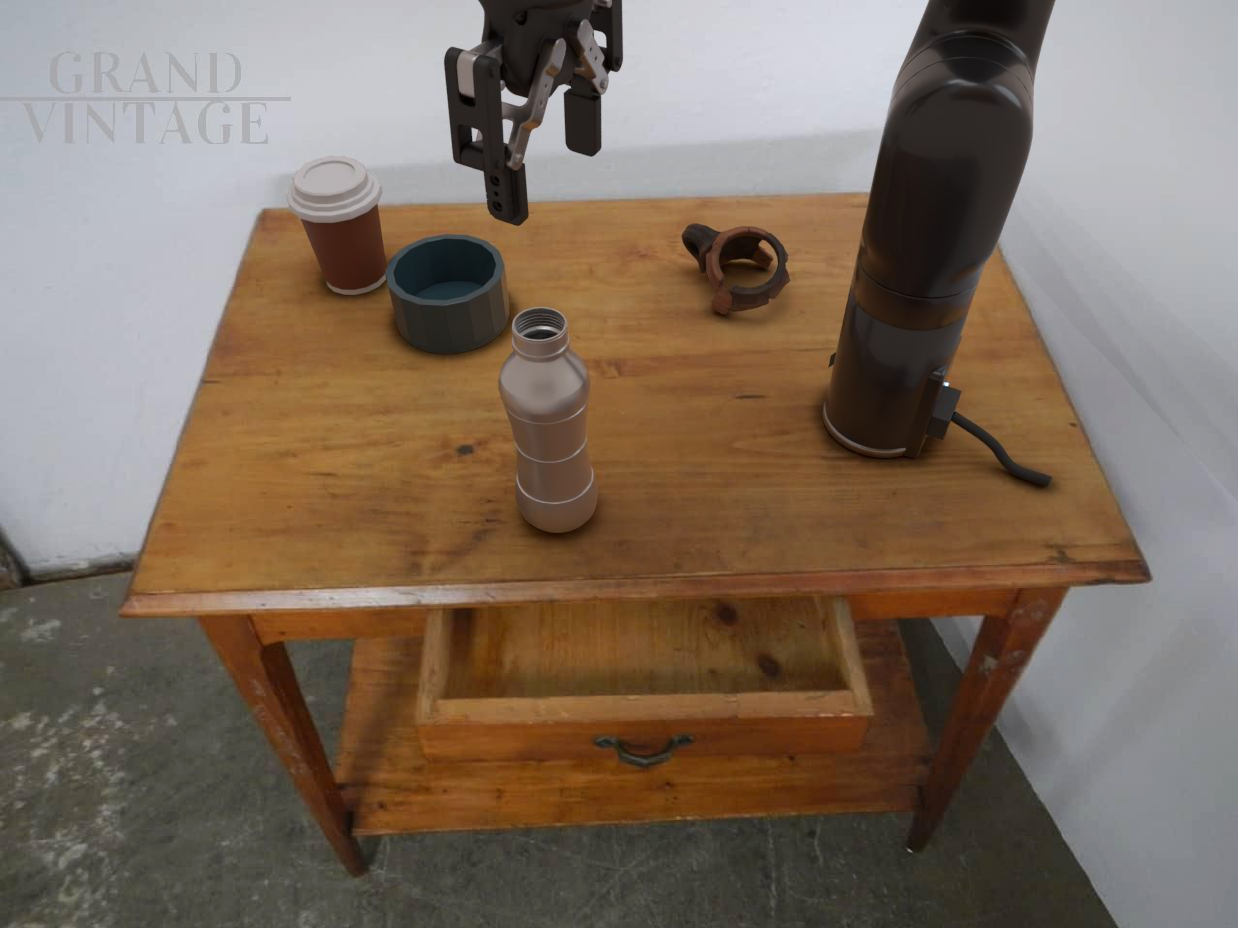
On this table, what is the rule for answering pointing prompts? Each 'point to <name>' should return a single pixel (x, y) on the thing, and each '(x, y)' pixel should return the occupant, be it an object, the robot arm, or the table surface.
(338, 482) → the table surface
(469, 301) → the bowl
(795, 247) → the table surface
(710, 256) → the brown ring bracket
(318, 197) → the coffee cup
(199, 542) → the table surface
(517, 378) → the tan bottle
